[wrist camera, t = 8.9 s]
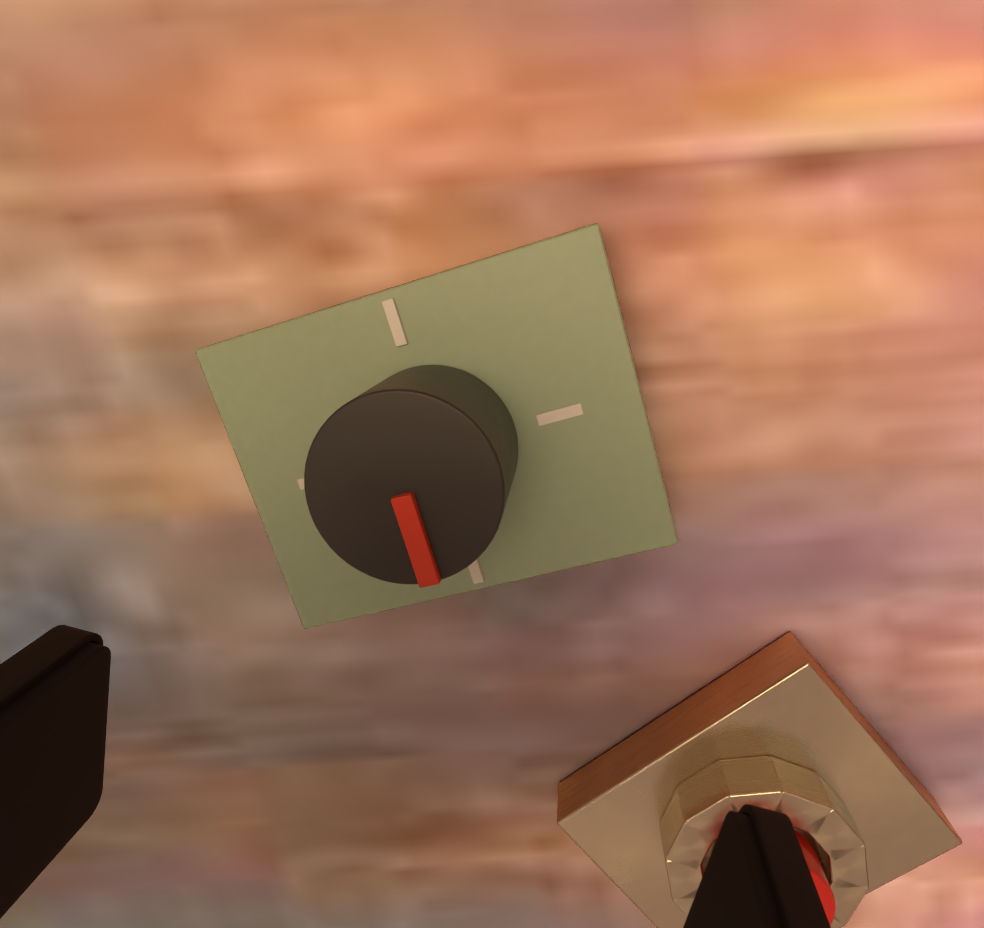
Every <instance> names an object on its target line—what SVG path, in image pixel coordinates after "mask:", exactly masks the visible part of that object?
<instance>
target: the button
mask: <svg viewBox="0 0 984 928" xmlns="http://www.w3.org/2000/svg"><path fill="white" fill-rule="evenodd" d="M795 833H796V836H797V838H798V841H799V844H800V846H801V849H802V852H803V854H804V857H805V860H806V862H807V865H808V868H809V870H810V873H811V876H812V878H813V881H814V884H815V886H816V889H817V892H818V894H819V897H820V900H821V903H822V905H823V908H824V911H825V913H826V916H827V919H828V921H829V924H830V926H831V924H832V922H833V919H834V916H835V910H836V903H835V898H834V895H833V892H832V890H831V887H830V885H829V882H828V880H827V877H826V875H825V872H824V870H823V868H822V865H821V863H820V860H819V858H818V855H817V853H816V851H815V849H814V847H813V845H812V844H811V843H810V842H809V841H808V840H807V839H806V838H805V837H804V836H803V835H802V834H800V833H799V832H798V831H796V830H795Z"/></svg>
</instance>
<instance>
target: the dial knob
mask: <svg viewBox="0 0 984 928" xmlns="http://www.w3.org/2000/svg"><path fill="white" fill-rule="evenodd" d="M518 450H519V449H518V437H517V433H516V428H515V425H514V422H513V419H512V417H511V415H510V413H509V411H508V409H507V407H506V406H505V404H504V403H503V401H502V400H501V398H500V397H499V396H498V395H497V394H496V393H495V392H494V390H493V389H491V388H490V387H489V386H488V385H487V384H486V383H485V382H483V381H482V380H480V379H479V378H477V377H476V376H474V375H472V374H470V373H468V372H466V371H463V370H460V369H457V368H454V367H449V366H444V365H420V366H416V367H411V368H408V369H405V370H402V371H399V372H398V373H396V374H394V375H392V376H390V377H388V378H387V379H385V380H383V381H382V382H380V383H378V384H377V385H375V386H373V387H372V388H370V389H368V390H367V391H365V392H364V393H362V394H360V395H359V396H357V397H355V398H354V399H352V400H350V401H349V402H347V403H346V404H344V405H343V406H341V407H340V408H339V409H337V410H336V411H335V412H334V413H333V414H332V415H331V416H330V417H329V418H328V419H327V420H326V421H325V422H324V424H323V425H322V426H321V427H320V429H319V430H318V432H317V434H316V436H315V437H314V439H313V441H312V444H311V446H310V449H309V451H308V455H307V459H306V463H305V472H304V489H305V496H306V502H307V505H308V509H309V512H310V515H311V517H312V519H313V522H314V524H315V526H316V528H317V530H318V531H319V533H320V535H321V536H322V538H323V539H324V540H325V542H326V543H327V544H328V546H329V547H330V548H331V549H332V550H333V551H334V552H335V553H336V554H337V555H338V556H339V557H340V558H342V559H343V560H344V561H345V562H346V563H348V564H349V565H351V566H352V567H354V568H355V569H357V570H359V571H360V572H363V573H365V574H367V575H369V576H371V577H374V578H377V579H380V580H382V581H387V582H392V583H398V584H418V585H419V587H420V588H423V587H427V586H432V585H437V584H440V581H441V580H442V579H445V578H448V577H450V576H452V575H455V574H457V573H458V572H460V571H462V570H463V569H465V568H467V567H468V566H469V565H471V564H472V563H473V562H474V561H475V560H477V559H478V558H479V557H480V555H481V554H482V553H483V552H484V551H485V550H486V549H487V547H488V546H489V544H490V543H491V541H492V540H493V538H494V536H495V534H496V532H497V530H498V528H499V525H500V522H501V519H502V516H503V513H504V509H505V506H506V502H507V499H508V495H509V492H510V488H511V485H512V482H513V478H514V475H515V471H516V467H517V462H518Z"/></svg>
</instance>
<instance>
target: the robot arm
mask: <svg viewBox="0 0 984 928" xmlns="http://www.w3.org/2000/svg"><path fill="white" fill-rule="evenodd" d="M110 661H111V652H110V650H109V648H108V647H106V646H103V640H102V638H101V636H100V635H98V634H96V633H93V632H89V631H85V630H81V629H77V628H73V627H70V626H66V625H58V626H56V627H54V628H52V629H51V630H49V631H48V632H46V633H45V634H44V635H42V636H41V637H39V638H38V639H36V640H35V641H33V642H32V643H31V644H29V645H28V646H26V647H25V648H23V649H22V650H20V651H19V652H18V653H16V654H15V655H13V656H12V657H10V658H9V659H8V660H6V661H5V662H3V663H2V664H0V918H1V917H2V916H3V915H4V914H5V913H6V912H7V911H8V909H9V908H10V907H11V906H12V905H13V904H14V903H15V901H16V900H17V899H18V898H19V897H20V896H21V895H22V894H23V892H24V891H25V890H26V889H27V888H28V887H29V886H30V885H31V883H32V882H33V881H34V880H35V879H36V878H37V877H38V875H39V874H40V873H41V872H42V871H43V870H44V869H45V868H46V866H47V865H48V864H49V863H50V862H51V861H52V860H53V859H54V857H55V856H56V855H57V854H58V853H59V852H60V851H61V849H62V848H63V847H64V846H65V845H66V844H67V843H68V842H69V840H70V839H71V838H72V837H73V836H74V835H75V834H76V833H77V831H78V830H79V829H80V828H81V827H82V826H83V825H84V823H85V822H86V821H87V820H88V819H89V818H90V816H91V815H92V814H93V812H94V811H95V809H96V807H97V805H98V803H99V801H100V798H101V794H102V789H103V773H104V757H105V741H106V725H107V709H108V693H109V677H110ZM683 928H831V927H830V924H829V921H828V919H827V916H826V913H825V911H824V908H823V905H822V903H821V900H820V897H819V894H818V892H817V889H816V886H815V884H814V881H813V878H812V876H811V873H810V870H809V868H808V865H807V862H806V860H805V857H804V854H803V852H802V849H801V846H800V844H799V841H798V838H797V836H796V833H795V830H794V828H793V825H792V822H791V820H790V818H789V817H788V816H787V815H786V814H784V813H780V812H777V811H773V810H769V809H765V808H761V807H757V806H754V805H750V804H744V805H743V806H742V807H741V809H740V811H739V813H738V812H734V811H729V812H728V813H727V815H726V817H725V819H724V821H723V824H722V827H721V829H720V832H719V835H718V837H717V840H716V842H715V845H714V848H713V850H712V853H711V856H710V858H709V861H708V863H707V866H706V869H705V871H704V874H703V877H702V879H701V882H700V884H699V887H698V890H697V892H696V895H695V898H694V900H693V903H692V905H691V908H690V911H689V913H688V916H687V919H686V921H685V924H684V926H683Z"/></svg>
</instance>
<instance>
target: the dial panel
mask: <svg viewBox="0 0 984 928" xmlns="http://www.w3.org/2000/svg"><path fill="white" fill-rule="evenodd" d="M196 355H197V357H198V360H199V362H200V365H201V368H202V370H203V373H204V375H205V378H206V380H207V383H208V385H209V388H210V390H211V393H212V396H213V398H214V401H215V403H216V406H217V408H218V411H219V413H220V416H221V418H222V421H223V424H224V426H225V429H226V431H227V434H228V436H229V439H230V441H231V444H232V446H233V449H234V452H235V454H236V457H237V459H238V462H239V464H240V467H241V469H242V472H243V474H244V477H245V480H246V482H247V485H248V487H249V490H250V492H251V495H252V497H253V500H254V503H255V505H256V508H257V510H258V513H259V515H260V518H261V520H262V523H263V525H264V528H265V531H266V533H267V536H268V538H269V541H270V543H271V546H272V548H273V551H274V553H275V556H276V559H277V561H278V564H279V566H280V569H281V571H282V574H283V576H284V579H285V581H286V584H287V587H288V589H289V592H290V594H291V597H292V599H293V602H294V604H295V607H296V609H297V612H298V615H299V617H300V620H301V622H302V625H303V627H304V629H307V628H311V627H315V626H320V625H324V624H328V623H333V622H337V621H341V620H346V619H350V618H355V617H359V616H363V615H368V614H372V613H376V612H381V611H385V610H390V609H394V608H398V607H403V606H407V605H411V604H416V603H420V602H425V601H429V600H433V599H438V598H442V597H446V596H451V595H455V594H460V593H464V592H468V591H473V590H477V589H481V588H486V587H490V586H495V585H499V584H503V583H508V582H512V581H516V580H521V579H525V578H530V577H534V576H538V575H543V574H547V573H551V572H556V571H560V570H565V569H569V568H573V567H578V566H582V565H586V564H591V563H595V562H599V561H604V560H608V559H613V558H617V557H621V556H626V555H630V554H634V553H639V552H643V551H648V550H652V549H656V548H661V547H665V546H669V545H674V544H677V543H678V537H677V533H676V529H675V525H674V521H673V517H672V513H671V509H670V505H669V501H668V497H667V493H666V489H665V485H664V481H663V477H662V473H661V469H660V465H659V461H658V457H657V453H656V449H655V445H654V441H653V437H652V433H651V429H650V425H649V421H648V417H647V413H646V409H645V405H644V401H643V397H642V393H641V389H640V385H639V381H638V377H637V373H636V369H635V365H634V361H633V357H632V353H631V349H630V345H629V341H628V337H627V333H626V329H625V325H624V321H623V317H622V313H621V309H620V305H619V301H618V297H617V293H616V289H615V285H614V281H613V277H612V273H611V269H610V265H609V261H608V257H607V253H606V249H605V245H604V241H603V237H602V233H601V229H600V225H599V224H598V223H595V224H592V225H589V226H586V227H582V228H579V229H576V230H573V231H570V232H567V233H563V234H560V235H557V236H554V237H551V238H548V239H544V240H541V241H538V242H535V243H532V244H529V245H525V246H522V247H519V248H516V249H513V250H510V251H506V252H503V253H500V254H497V255H494V256H491V257H487V258H484V259H481V260H478V261H475V262H472V263H468V264H465V265H462V266H459V267H456V268H453V269H449V270H446V271H443V272H440V273H437V274H434V275H430V276H427V277H424V278H421V279H418V280H415V281H411V282H408V283H405V284H402V285H399V286H396V287H392V288H389V289H386V290H383V291H380V292H377V293H373V294H370V295H367V296H364V297H361V298H358V299H354V300H351V301H348V302H345V303H342V304H339V305H335V306H332V307H329V308H326V309H323V310H320V311H316V312H313V313H310V314H307V315H304V316H301V317H297V318H294V319H291V320H288V321H285V322H282V323H278V324H275V325H272V326H269V327H266V328H263V329H259V330H256V331H253V332H250V333H247V334H244V335H240V336H237V337H234V338H231V339H228V340H225V341H221V342H218V343H215V344H212V345H209V346H206V347H202V348H199V349H197V350H196ZM420 365H444V366H449V367H454V368H457V369H460V370H463V371H466V372H468V373H470V374H472V375H474V376H476V377H477V378H479V379H480V380H482V381H483V382H485V383H486V384H487V385H488V386H489V387H490V388H491V389H493V390H494V392H495V393H496V394H497V395H498V396H499V397H500V398H501V400H502V401H503V403H504V404H505V406H506V407H507V409H508V411H509V413H510V415H511V417H512V419H513V422H514V425H515V428H516V433H517V437H518V449H519V450H518V462H517V467H516V471H515V475H514V478H513V482H512V485H511V488H510V492H509V495H508V499H507V502H506V506H505V509H504V513H503V516H502V519H501V522H500V525H499V528H498V530H497V532H496V534H495V536H494V538H493V540H492V541H491V543H490V544H489V546H488V547H487V549H486V550H485V551H484V552H483V553H482V554H481V555H480V557H479V558H478V559H477V560H475V561H474V562H473V563H472V564H471V565H469V566H468V567H467V568H465V569H463V570H462V571H460V572H458V573H457V574H455V575H452V576H450V577H448V578H445V579H442V580H441V581H440V584H437V585H432V586H427V587H423V588H420V587H419V585H418V584H398V583H392V582H387V581H382V580H380V579H377V578H374V577H371V576H369V575H367V574H365V573H363V572H360V571H359V570H357V569H355V568H354V567H352V566H351V565H349V564H348V563H346V562H345V561H344V560H343V559H342V558H340V557H339V556H338V555H337V554H336V553H335V552H334V551H333V550H332V549H331V548H330V547H329V546H328V544H327V543H326V542H325V540H324V539H323V538H322V536H321V535H320V533H319V531H318V530H317V528H316V526H315V524H314V522H313V519H312V517H311V515H310V512H309V509H308V505H307V502H306V496H305V489H304V472H305V463H306V459H307V455H308V451H309V449H310V446H311V444H312V441H313V439H314V437H315V436H316V434H317V432H318V430H319V429H320V427H321V426H322V425H323V424H324V422H325V421H326V420H327V419H328V418H329V417H330V416H331V415H332V414H333V413H334V412H335V411H336V410H337V409H339V408H340V407H341V406H343V405H344V404H346V403H347V402H349V401H350V400H352V399H354V398H355V397H357V396H359V395H360V394H362V393H364V392H365V391H367V390H368V389H370V388H372V387H373V386H375V385H377V384H378V383H380V382H382V381H383V380H385V379H387V378H388V377H390V376H392V375H394V374H396V373H398V372H399V371H402V370H405V369H408V368H411V367H416V366H420Z"/></svg>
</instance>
